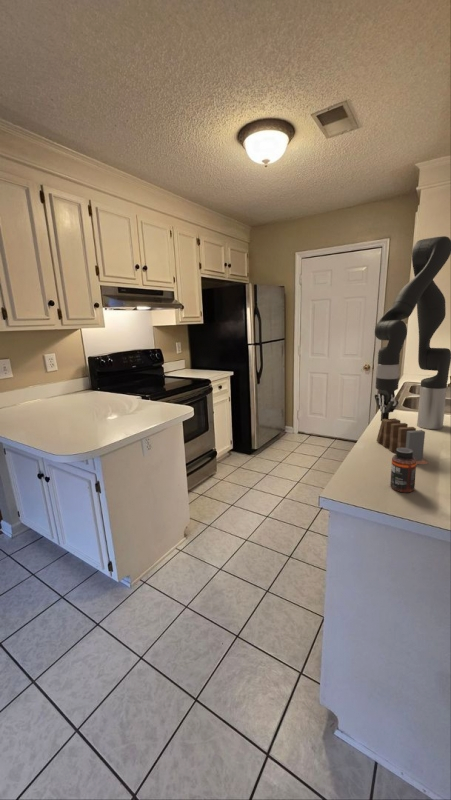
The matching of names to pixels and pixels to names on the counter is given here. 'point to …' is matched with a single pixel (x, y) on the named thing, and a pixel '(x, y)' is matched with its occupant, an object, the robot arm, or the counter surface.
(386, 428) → the domino
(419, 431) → the domino
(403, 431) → the domino
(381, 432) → the domino
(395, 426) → the domino
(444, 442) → the counter surface
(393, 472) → the supplement bottle
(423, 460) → the end pad
